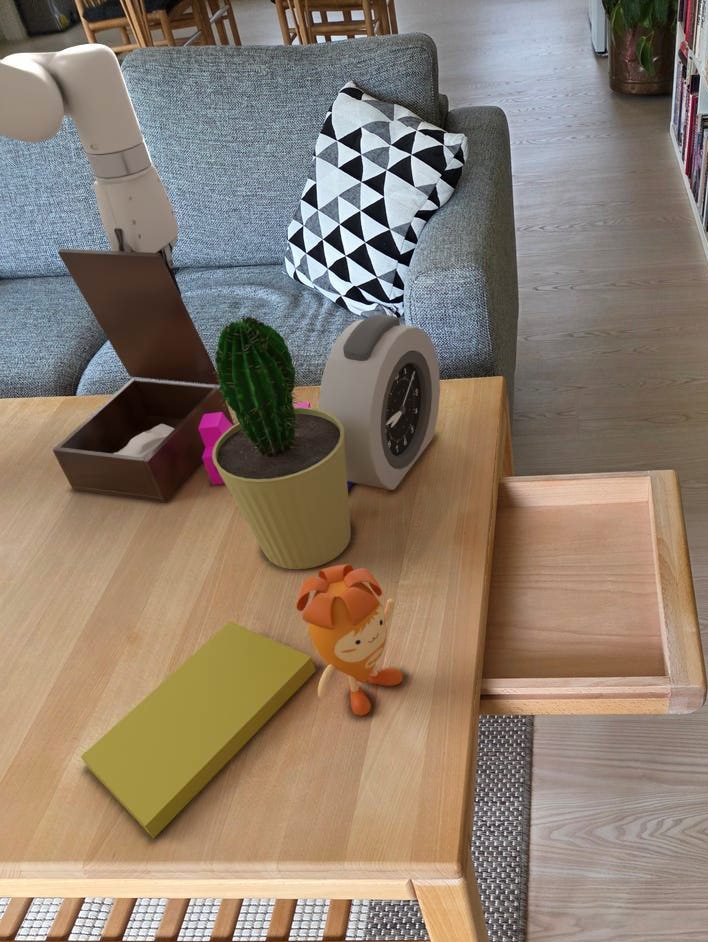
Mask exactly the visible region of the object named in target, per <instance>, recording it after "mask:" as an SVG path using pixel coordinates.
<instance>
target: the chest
mask: <svg viewBox="0 0 708 942" xmlns="http://www.w3.org/2000/svg"><path fill="white" fill-rule="evenodd" d="M216 387H217V389H216ZM219 388H220V386H219V385H215V384H204V383H193V382H182V381H171V380H160V379H150V378H139V377H131V378H130V379H129V381H127V382H126V383H125V384H124V385H123V386H122V387H120V388H119V389H118V390H117V391H116V392H115V393H114V394H113V395H112V396H110V398H107V400H106V401H105V402H104V403H103V404H102V405H100V406H99V407H98V408H97V409H96V410H95V411H94V412H93V413H92V414H91V415H89V416H88V417H87V418H86V419H85V420H84V421H83V422H82V423H80V424H79V425H78V426H77V427H76V428H74V430H72V432H70V433H69V434H68V435H67V436H66V437H65V438H64V439H63V440H62V441H60V442H59V444H57V445H56V446H55V447H54V448H52V452H53V455H54V457H55V458H56V460H57V462H58V464H59V466H60V468H61V470H62V471H63V474H64V476H65V478H66V479H67V481H68V484H69V485H70V487H71V490H72V491H76V492H77V491H78V492H83V493H90V494H97V495H98V494H99V495H104V496H105V495H106V496H112V497H118V498H119V497H121V498H127V499H135V500H142V501H149V502H155V503H156V502H157V503H167V502H168V501H169V500H170V498H171V497H172V496H173V495H174V494H175V493H176V492H177V491H178V489H180V487H181V486H182V485H183V484H184V483H185V482H186V481H187V480H188V478H190V476H191V475H192V474H193V473H194V472H195V471H196V469H197V468H199V466H200V465H201V464H202V463H203V462H204V461H203V459H202V456H203V453H204V450H205V448H206V447H205V445H204V442H203V439H202V437H201V434H200V432H199V429H198V428H199V425H200V423H201V420H202V417H203V415H204V414H209V413H218V412H223V411H224V410H225V409H226V410H225V411H224V412H223V414H224V416H225V417H226V418H227V420H228V421H229V422H230V423H231V424H232V425H233V426H234V425H235V424H234V421H233V418H232V414H231V412H230V408H229V406H228V405H227V403H226V402H227V401H226V400H224V399H223V397H222V394H223V393H221V391H219V390H221V388H220V389H219ZM218 389H219V390H218ZM217 391H218V392H217ZM222 399H223V400H222ZM221 400H222V401H221ZM220 401H221V402H220ZM219 402H220V403H219ZM222 402H223V403H222ZM224 402H225V403H226V404H225V403H224ZM218 403H219V404H218ZM223 404H224V405H223ZM222 405H223V406H225V405H227V406H225V407H223V406H222ZM220 406H221V407H220ZM222 407H223V408H222ZM227 408H228V409H227ZM160 424H165V425H167V426H170V427H172V428H174V430H173V431H172V432H171V433H170V434H169V435H168V436H167V437H166V438H165V439H164V440H163V441H162V442H161V443H160V444H159V445H158V446H157V447H156V448H155V449H154V450H153V451H152V452H151V453H150V454H149V455H148V456H147V457H146V458H143V457H135V456H127V455H118V454H113V453H116V452H119V451H120V450H121V449H123V448H124V447H126V446H127V445H128V443H129V442H130V440H131V439H132V438H134V437H136V436H137V435H139V434H141V433H143V432H146V431H149V430H151V429H152V428H154V427H156V426H158V425H160Z"/></svg>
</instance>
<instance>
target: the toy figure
mask: <svg viewBox="0 0 708 942" xmlns="http://www.w3.org/2000/svg"><path fill="white" fill-rule="evenodd" d="M366 583H367V584H368V585H369V586H368V585H367V584H366ZM313 591H315V592H314V594H313V596H312V599H311V601H310V602H309V599H310V596H311V592H313ZM382 595H383V590H382V588H381V586H380V585H379V583H378V581H377V580H376V578H375V577H374V576H373V574H372V573H371V572H370V571H369V570H368V569H366V568H364V567H363V568H362V567H361V568H356V569H354V567H353V566H352V565H351V564H340V565H339V564H338V565H333V566H329V567H326V568H325V567H324V568H322V569H320V570H319V571H318V576H317V577H316V576H313V577H308V578H306V579H305V581H304V582H303V584H302V586H301V589H300V591H299V593H298V597H297V600H296V605H295V606H296V609H297V611H299V612H303V613H302V616H301V618H302V620H303V621H304V622H306V623H307V624H308V631H309V636H310V639H311V642H312V644H313V646H314V648H315V649H316V651H317V653H318V655H319V656H320V657H321V658H322V659H323V660H324V662H325V663H327V666H326V668H325V669H324V671H323V673H322V675H321V676H320V679H319V682H318V686H317V696H318V697H319V698H321V699H323V698H325V697H326V696H327V687H328V683H329V680H330V677H331V676H332V673H333V672H334V671H335V670H337V671H339V672H341V673H343V674H345V675H347V676H348V682H349V688H350V689H349V690H350V692H349V696H350V698H349V699H350V707H351V710H352V712H353V713H354V715H357V716H360V717H361V716H365V715H367V714H368V713H370V711H371V709H372V706H371V701H370V700H369V698H368V697H367V695H366V694H365V693H364V692H363V690H362V689H361V688H360V686H359V683H360V684H365V683H366V682H367V681H369V683H371V684H373V685H380V686H388V687H391V686H392V687H393V686H397V685H399V684H400V683H402V682H403V679H404V674H403V673H402V671H401V670H400V669H398V668H395V667H387V668H384V669H381V670H378V668H377V665H376V664H377V662H378V661H379V659H380V658H381V656H382V654H383V652H384V649H385V646H386V642H387V633H388V630H387V629H388V628H387V622H388V620H389V619H390V617H391V616H392V614H393V611H394V609H395V604H396V603H395V602H396V600H395V599H394V598H388V599H387V600H386V605H385V608H383V605H382V602H381V601H380V599H379V597H381V596H382ZM308 602H309V603H308ZM358 682H359V683H358Z"/></svg>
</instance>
